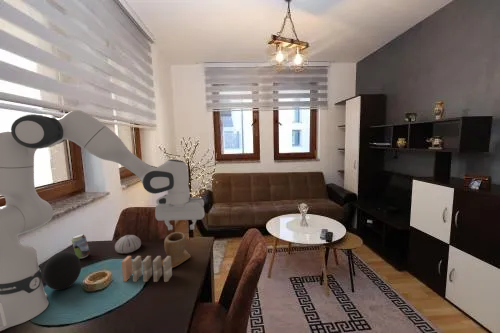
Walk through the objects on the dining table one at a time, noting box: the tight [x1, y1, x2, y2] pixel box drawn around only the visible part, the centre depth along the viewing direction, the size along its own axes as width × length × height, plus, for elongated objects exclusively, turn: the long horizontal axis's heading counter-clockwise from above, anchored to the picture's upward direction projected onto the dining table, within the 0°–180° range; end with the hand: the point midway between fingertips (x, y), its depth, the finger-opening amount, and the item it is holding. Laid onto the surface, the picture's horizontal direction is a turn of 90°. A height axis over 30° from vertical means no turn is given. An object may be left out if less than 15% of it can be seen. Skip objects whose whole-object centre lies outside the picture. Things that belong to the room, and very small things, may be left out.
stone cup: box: [161, 231, 192, 269], centre depth 119 cm, size 15×12×15 cm
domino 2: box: [132, 255, 143, 282], centre depth 106 cm, size 2×5×9 cm, turn 178°
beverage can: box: [71, 233, 91, 260], centre depth 126 cm, size 6×7×12 cm
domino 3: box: [141, 255, 153, 282], centre depth 106 cm, size 2×5×9 cm, turn 178°
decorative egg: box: [42, 250, 82, 291], centre depth 100 cm, size 12×12×15 cm
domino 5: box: [162, 255, 173, 283], centre depth 105 cm, size 2×5×9 cm, turn 178°
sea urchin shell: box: [114, 234, 142, 255], centre depth 135 cm, size 13×14×8 cm
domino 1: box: [121, 255, 133, 282], centre depth 106 cm, size 2×5×9 cm, turn 178°
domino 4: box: [152, 255, 163, 283], centre depth 106 cm, size 2×5×9 cm, turn 178°
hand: (181, 229), depth 103 cm, fingers open, 8 cm apart
